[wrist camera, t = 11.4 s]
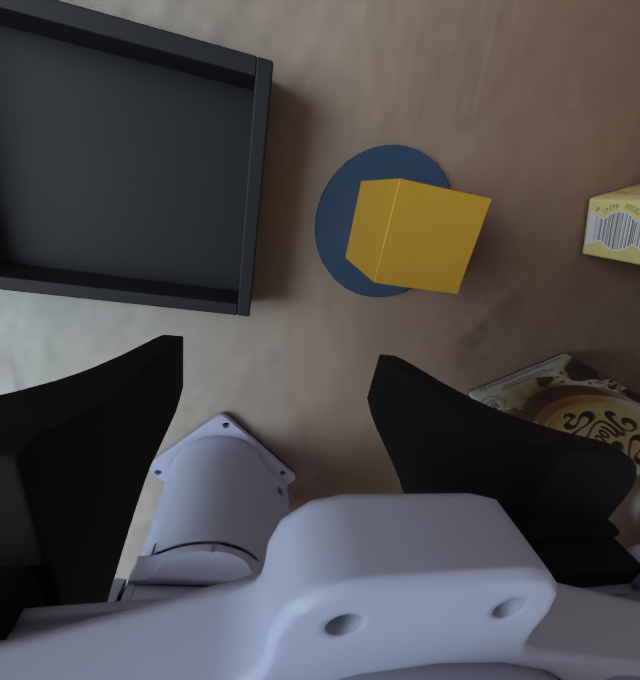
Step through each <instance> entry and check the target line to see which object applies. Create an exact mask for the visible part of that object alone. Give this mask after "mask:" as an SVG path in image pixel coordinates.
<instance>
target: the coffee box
mask: <svg viewBox="0 0 640 680" xmlns="http://www.w3.org/2000/svg"><path fill="white" fill-rule="evenodd" d="M469 397H471V398H473V399H475V400H477V401H479V402H481V403H484V404H486V405H488V406H490V407H493V408H495V409H498V410H500V411H503V412H505V413H508V414H511V415H513V416H516V417H519V418H522V419H524V420H527V421H530V422H533V423H536V424H540V425H543V426H546V427H550V428H553V429H556V430H560V431H563V432H567V433H572V434H576V435H580V436H584V437H588V438H592V439H596V440H600V441H604V442H607V443H610V444H612V445H614V446H616V447H617V448H619V449H620V450H621V451H623V452H624V453H625V454H627V455H628V456H629V457H631V458H632V459H633V460H634V462H635V464H636V467H637V478H636V480H635V483H634V486H633V487H632V489H631V490H630V492H629V493H628V495H627V496H626V497H625V499H624V500H623V501H622V502H621V504H620V505H619V506H618V507H617V509H616V510H615V511H614V512H613V514H612V515H611V516H610V517H609V520H610V521H611V522H612V523H613V524H614V525H615V526H616V527H617V528H618V529H619V532H620V534H619V535H618V536H617V537H614V538H615V539H616V540H617V541H618V542H619V543H620V544H621V545H622V546H623V547H624V548H625V549H627V548H629V547H631V546H633V545H637V544H640V395H638V394H637V393H634V392H633V391H631V390H630V389H628V388H626V387H624V386H623V385H621V384H619V383H617V382H615V381H614V380H612V379H610V378H608V377H606V376H604V375H603V374H601V373H599V372H597V371H596V370H594V369H592V368H590V367H589V366H587V365H585V364H583V363H581V362H580V361H578V360H576V359H574V358H573V357H571V356H569V355H567V354H561V355H558V356H556V357H554V358H551V359H549V360H546V361H544V362H542V363H539V364H537V365H534V366H532V367H529V368H527V369H524V370H522V371H519V372H517V373H514V374H512V375H509V376H507V377H505V378H502V379H500V380H497V381H495V382H492V383H490V384H487V385H485V386H482V387H480V388H477V389H475V390H472V391H470V392H469Z"/></svg>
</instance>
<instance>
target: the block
mask: <svg viewBox="0 0 640 680" xmlns="http://www.w3.org/2000/svg"><path fill="white" fill-rule="evenodd" d="M491 200H492V199H491V198H487V197H483V196H478V195H474V194H469V193H465V192H460V191H456V190H451V189H446V188H442V187H437V186H433V185H428V184H424V183H419V182H415V181H410V180H406V179H401V178H399V179H383V180H368V181H361V185H360V190H359V194H358V199H357V204H356V209H355V214H354V219H353V223H352V228H351V233H350V238H349V243H348V248H347V252H346V259H347V260H349V261H350V262H351V263H352V264H353V265H354V266H356V267H357V268H358V269H359V270H360V271H361V272H362V273H364V274H365V275H366V276H367V277H368V278H369V279H370V280H372V281H373V282H374V283H379V284H386V285H393V286H400V287H407V288H414V289H421V290H428V291H435V292H442V293H449V294H457V293H458V290H459V288H460V285H461V282H462V279H463V277H464V274H465V271H466V268H467V266H468V263H469V260H470V258H471V255H472V252H473V249H474V247H475V244H476V241H477V238H478V236H479V233H480V230H481V227H482V225H483V222H484V219H485V216H486V214H487V211H488V208H489V205H490V203H491Z"/></svg>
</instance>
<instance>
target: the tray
mask: <svg viewBox="0 0 640 680" xmlns="http://www.w3.org/2000/svg"><path fill="white" fill-rule="evenodd" d="M272 72H273V62H272V61H271V60H267V59H263V58H260V57H258V58H257V57H256V56H254V55H250V54H247V53H243V52H239V51H236V50H232V49H229V48H225V47H222V46H218V45H215V44H211V43H207V42H204V41H200V40H197V39H193V38H190V37H186V36H183V35H179V34H175V33H172V32H168V31H165V30H161V29H158V28H154V27H151V26H147V25H143V24H140V23H136V22H133V21H129V20H126V19H122V18H119V17H115V16H111V15H108V14H104V13H101V12H97V11H94V10H90V9H87V8H83V7H79V6H76V5H72V4H69V3H65V2H62V1H58V0H0V289H3V290H12V291H21V292H30V293H40V294H49V295H58V296H67V297H76V298H86V299H95V300H104V301H113V302H122V303H132V304H141V305H150V306H159V307H168V308H178V309H187V310H196V311H205V312H214V313H223V314H233V315H237V314H238V315H242V316H249V315H250V307H251V298H252V288H253V277H254V266H255V256H256V245H257V235H258V224H259V213H260V203H261V192H262V181H263V171H264V160H265V150H266V139H267V128H268V118H269V107H270V97H271V86H272Z"/></svg>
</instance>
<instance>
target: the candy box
mask: <svg viewBox="0 0 640 680" xmlns="http://www.w3.org/2000/svg"><path fill="white" fill-rule="evenodd" d="M583 254H586V255H591V256H597V257H602V258H607V259H612V260H618V261H623V262H627V263H632V264H637V265H640V184H638V185H635V186H631V187H627V188H624V189H620V190H617V191H613V192H609V193H606V194H602V195H599V196H595V197H592V198H591V199H590V200H589V207H588V215H587V222H586V231H585V238H584V245H583Z"/></svg>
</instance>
